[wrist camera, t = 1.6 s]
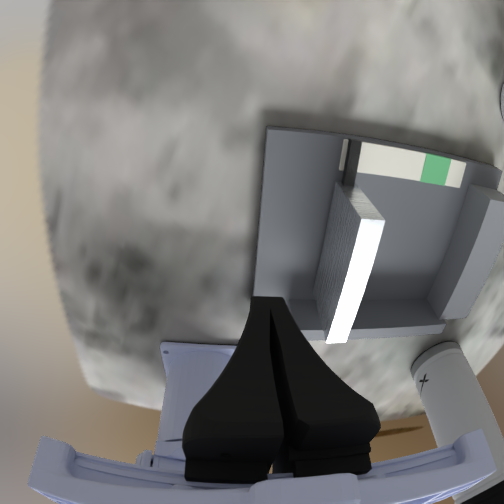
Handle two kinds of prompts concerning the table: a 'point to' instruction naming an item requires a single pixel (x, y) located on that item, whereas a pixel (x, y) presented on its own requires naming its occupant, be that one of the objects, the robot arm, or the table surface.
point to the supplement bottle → (502, 101)
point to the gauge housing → (393, 235)
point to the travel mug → (459, 413)
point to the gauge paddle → (346, 251)
